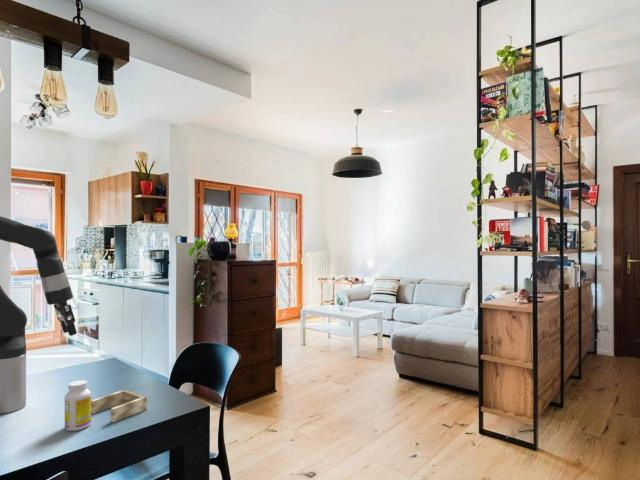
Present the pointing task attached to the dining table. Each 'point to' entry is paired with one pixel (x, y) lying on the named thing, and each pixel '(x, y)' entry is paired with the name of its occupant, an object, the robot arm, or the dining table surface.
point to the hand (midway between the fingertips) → (70, 333)
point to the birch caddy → (129, 406)
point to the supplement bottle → (77, 406)
